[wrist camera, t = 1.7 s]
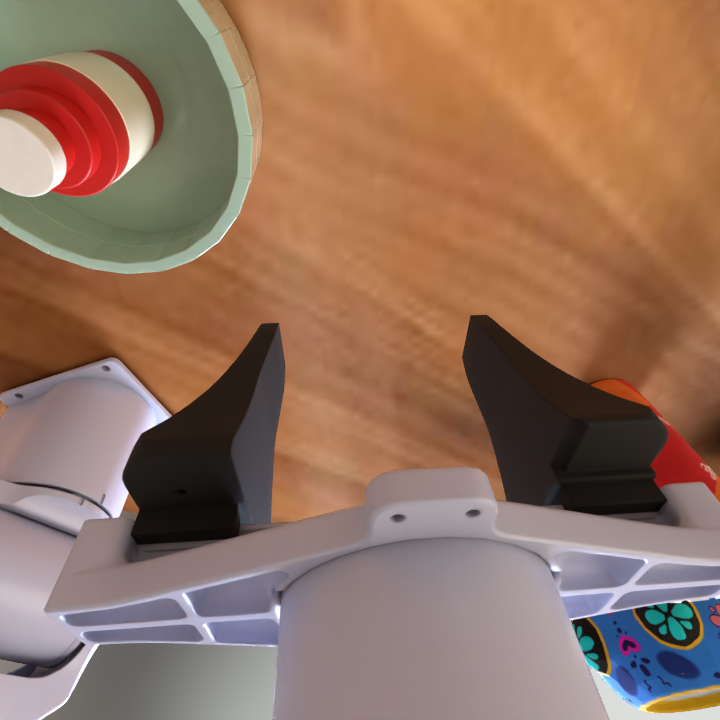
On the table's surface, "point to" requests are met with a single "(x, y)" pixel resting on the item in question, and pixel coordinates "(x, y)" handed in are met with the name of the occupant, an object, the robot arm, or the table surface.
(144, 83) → the sauce bottle
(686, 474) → the paper cup
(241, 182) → the pan
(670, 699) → the ceramic pot
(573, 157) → the table surface
